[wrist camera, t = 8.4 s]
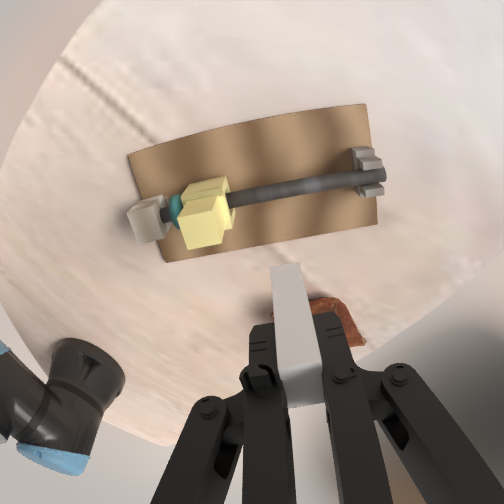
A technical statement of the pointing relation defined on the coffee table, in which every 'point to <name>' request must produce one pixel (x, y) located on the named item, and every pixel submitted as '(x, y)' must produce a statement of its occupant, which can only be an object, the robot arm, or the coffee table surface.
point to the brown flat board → (264, 179)
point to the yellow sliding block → (205, 213)
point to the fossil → (346, 319)
